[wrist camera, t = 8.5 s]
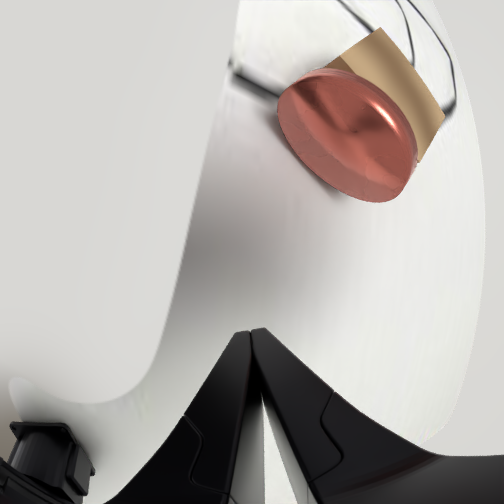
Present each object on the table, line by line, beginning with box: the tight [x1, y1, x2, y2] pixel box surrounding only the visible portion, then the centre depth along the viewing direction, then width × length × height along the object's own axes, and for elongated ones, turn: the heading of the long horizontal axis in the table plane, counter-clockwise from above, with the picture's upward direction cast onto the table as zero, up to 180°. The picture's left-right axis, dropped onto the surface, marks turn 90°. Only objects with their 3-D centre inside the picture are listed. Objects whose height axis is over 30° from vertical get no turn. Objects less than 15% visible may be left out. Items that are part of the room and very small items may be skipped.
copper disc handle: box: [277, 68, 418, 203], centre depth 16 cm, size 11×9×9 cm
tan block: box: [324, 27, 445, 163], centre depth 17 cm, size 6×8×7 cm
